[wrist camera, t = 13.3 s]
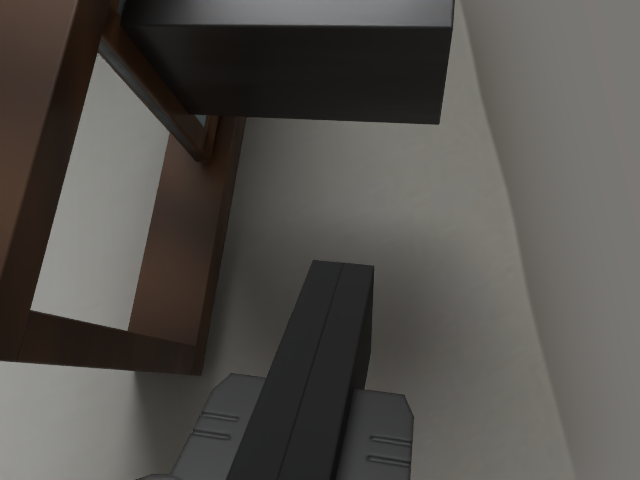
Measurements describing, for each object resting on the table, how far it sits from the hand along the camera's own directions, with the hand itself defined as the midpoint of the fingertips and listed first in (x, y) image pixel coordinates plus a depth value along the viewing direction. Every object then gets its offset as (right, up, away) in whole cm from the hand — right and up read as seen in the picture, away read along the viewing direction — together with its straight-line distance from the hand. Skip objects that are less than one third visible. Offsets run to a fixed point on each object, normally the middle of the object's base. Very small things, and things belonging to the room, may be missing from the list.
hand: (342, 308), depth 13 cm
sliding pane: (0, +11, +17) cm, 21 cm away
